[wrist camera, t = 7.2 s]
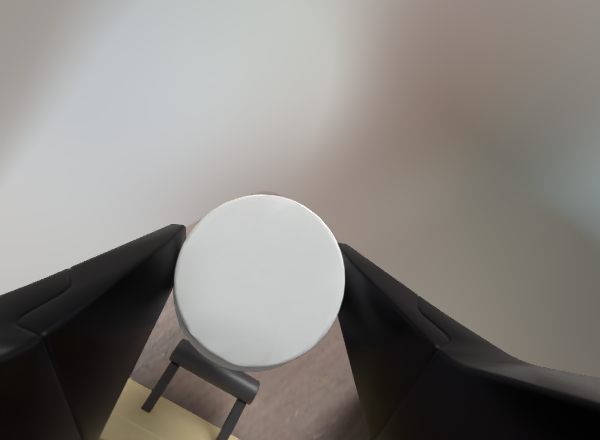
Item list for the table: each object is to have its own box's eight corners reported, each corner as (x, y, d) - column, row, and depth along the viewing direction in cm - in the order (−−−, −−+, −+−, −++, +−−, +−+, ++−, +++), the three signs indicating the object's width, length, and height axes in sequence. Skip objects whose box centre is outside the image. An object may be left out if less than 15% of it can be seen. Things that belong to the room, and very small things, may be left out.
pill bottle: (314, 285, 16) (414, 270, 7) (253, 360, 14) (278, 485, 5) (251, 226, 16) (264, 133, 7) (182, 292, 14) (72, 285, 5)
